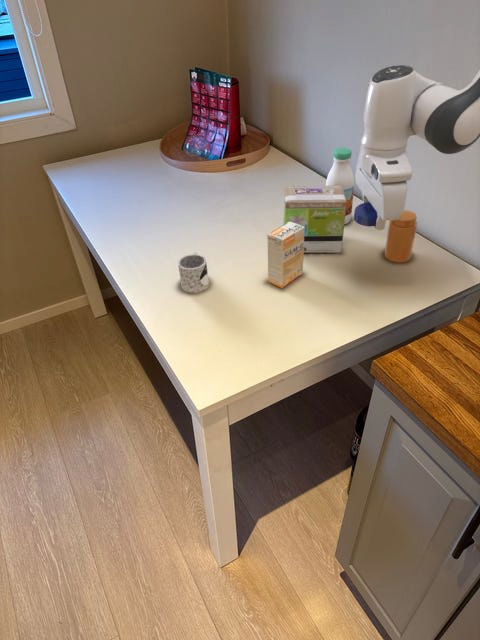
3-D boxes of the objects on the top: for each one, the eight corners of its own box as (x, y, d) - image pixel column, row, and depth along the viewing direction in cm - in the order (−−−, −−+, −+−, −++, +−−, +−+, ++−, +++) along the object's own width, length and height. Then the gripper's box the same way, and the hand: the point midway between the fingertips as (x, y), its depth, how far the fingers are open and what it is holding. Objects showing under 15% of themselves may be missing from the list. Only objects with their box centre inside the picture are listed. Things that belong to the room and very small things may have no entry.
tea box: (283, 254, 126) (284, 202, 117) (283, 235, 134) (283, 185, 125) (342, 253, 125) (347, 200, 116) (338, 234, 133) (342, 183, 124)
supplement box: (282, 289, 114) (283, 240, 106) (267, 282, 117) (266, 234, 109) (304, 274, 119) (305, 226, 111) (288, 267, 121) (289, 220, 113)
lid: (386, 210, 107) (387, 201, 106) (386, 226, 102) (387, 217, 101) (354, 210, 109) (355, 202, 107) (353, 226, 104) (353, 217, 103)
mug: (207, 292, 115) (205, 268, 111) (180, 293, 115) (176, 269, 111) (210, 269, 123) (208, 246, 119) (184, 270, 123) (181, 247, 119)
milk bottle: (332, 228, 136) (337, 157, 124) (319, 217, 142) (322, 148, 129) (356, 222, 138) (363, 152, 125) (342, 211, 144) (347, 143, 131)
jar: (405, 248, 126) (412, 208, 119) (414, 261, 121) (422, 220, 114) (380, 250, 125) (386, 210, 118) (389, 263, 120) (396, 222, 113)
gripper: (351, 141, 105) (345, 200, 114) (382, 178, 89) (373, 244, 98) (379, 139, 105) (372, 198, 114) (416, 175, 89) (404, 241, 98)
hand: (373, 220), depth 106 cm, fingers closed on lid, 6 cm apart
